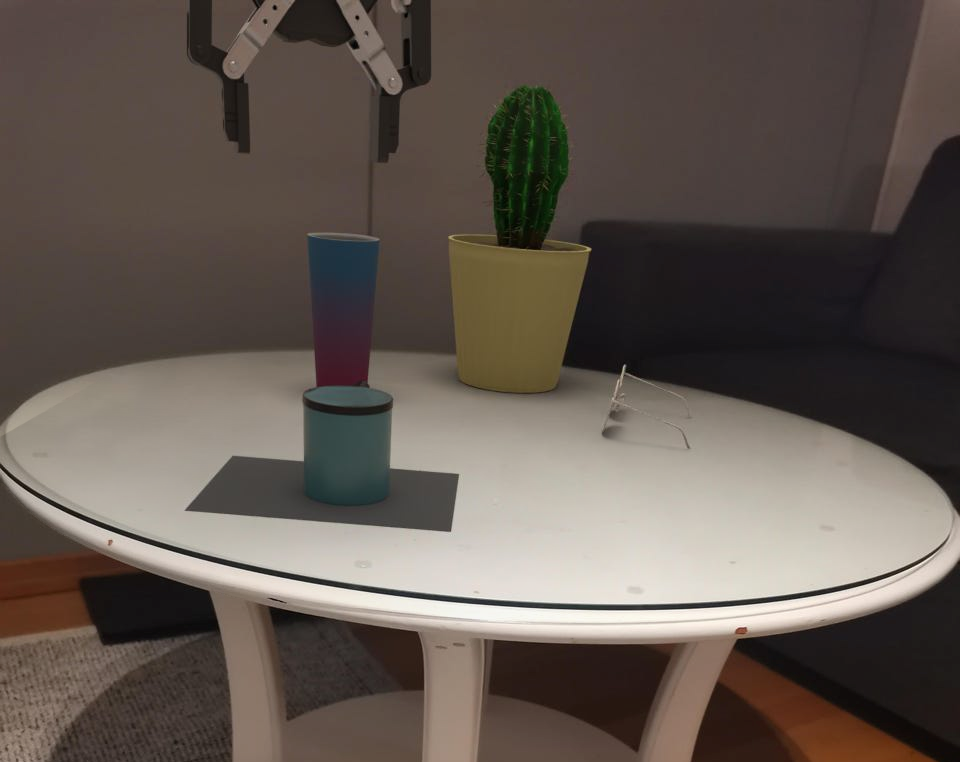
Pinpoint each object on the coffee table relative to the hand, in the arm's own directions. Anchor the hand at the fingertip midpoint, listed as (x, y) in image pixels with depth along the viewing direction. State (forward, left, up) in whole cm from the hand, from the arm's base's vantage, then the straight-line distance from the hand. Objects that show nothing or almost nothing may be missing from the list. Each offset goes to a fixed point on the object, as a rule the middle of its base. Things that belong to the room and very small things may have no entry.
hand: (311, 157), depth 61 cm
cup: (-3, +32, -22) cm, 39 cm away
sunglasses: (+28, +29, -22) cm, 46 cm away
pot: (+2, +4, -22) cm, 22 cm away
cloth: (+1, +1, -22) cm, 22 cm away
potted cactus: (+14, +45, -22) cm, 52 cm away
